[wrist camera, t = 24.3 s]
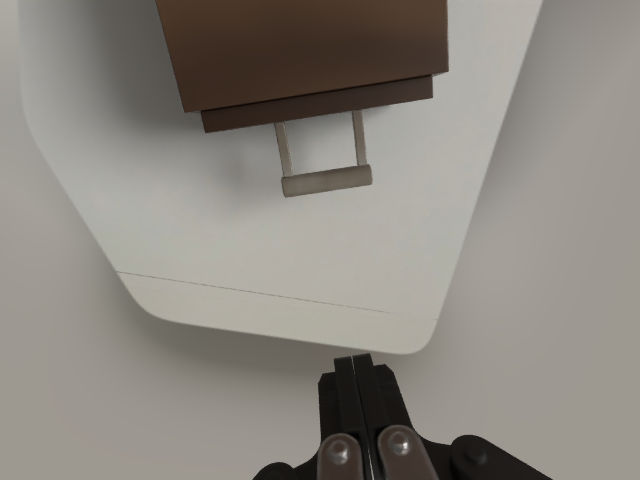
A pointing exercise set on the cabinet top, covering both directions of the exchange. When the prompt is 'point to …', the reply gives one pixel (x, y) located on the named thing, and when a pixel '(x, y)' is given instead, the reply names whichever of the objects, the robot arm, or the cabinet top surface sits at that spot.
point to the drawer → (320, 106)
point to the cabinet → (298, 46)
